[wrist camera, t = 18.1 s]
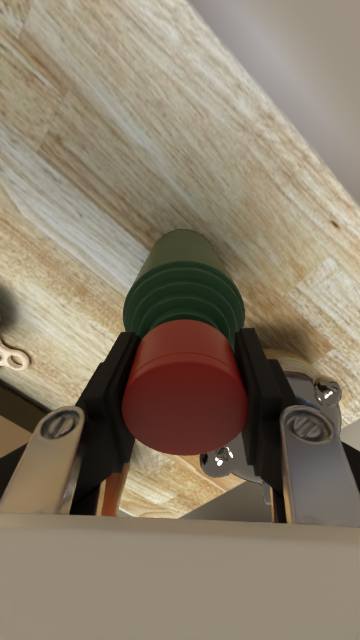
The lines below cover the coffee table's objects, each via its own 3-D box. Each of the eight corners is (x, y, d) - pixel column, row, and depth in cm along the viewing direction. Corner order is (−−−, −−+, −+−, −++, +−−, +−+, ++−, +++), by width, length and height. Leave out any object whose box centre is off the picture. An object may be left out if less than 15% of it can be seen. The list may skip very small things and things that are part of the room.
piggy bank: (175, 391, 31) (163, 487, 21) (255, 298, 25) (294, 370, 15) (245, 429, 33) (266, 534, 23) (335, 353, 27) (418, 448, 17)
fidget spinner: (-24, 320, 28) (-30, 323, 28) (32, 339, 29) (28, 342, 28) (-23, 366, 31) (-28, 370, 31) (28, 382, 32) (24, 387, 31)
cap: (246, 384, 10) (265, 439, 8) (161, 411, 11) (156, 468, 9) (213, 303, 9) (225, 341, 6) (117, 340, 9) (96, 387, 7)
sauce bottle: (149, 227, 22) (73, 302, 7) (220, 231, 22) (309, 314, 7) (149, 294, 25) (96, 456, 10) (212, 297, 25) (262, 463, 10)
